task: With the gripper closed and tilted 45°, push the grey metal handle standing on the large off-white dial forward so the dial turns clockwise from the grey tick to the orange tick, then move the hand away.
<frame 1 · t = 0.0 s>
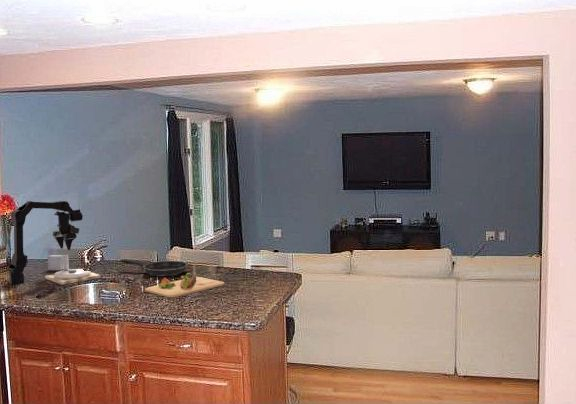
hand: (65, 249, 340), 15 cm above the counter, tool pointing down, fingers open, 9 cm apart
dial: (72, 266, 330), point 7 cm above the counter, hinge at 0.0°
medicine box: (56, 270, 356), on the counter
frying pan: (155, 273, 341), on the counter
dial base: (72, 278, 331), on the counter
cutting board: (185, 289, 303), on the counter
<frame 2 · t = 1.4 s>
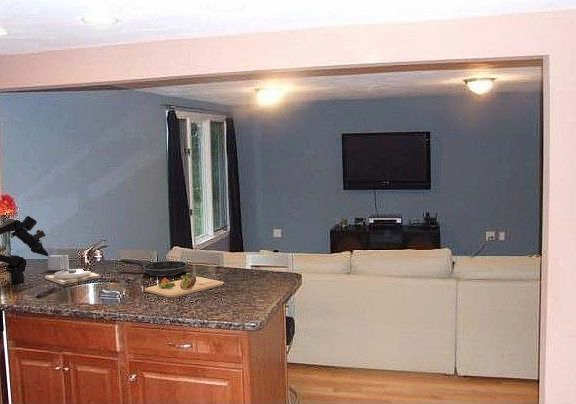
hand: (47, 254, 330), 14 cm above the counter, tool tilted 45°, fingers open, 6 cm apart
nothing on the counter moved.
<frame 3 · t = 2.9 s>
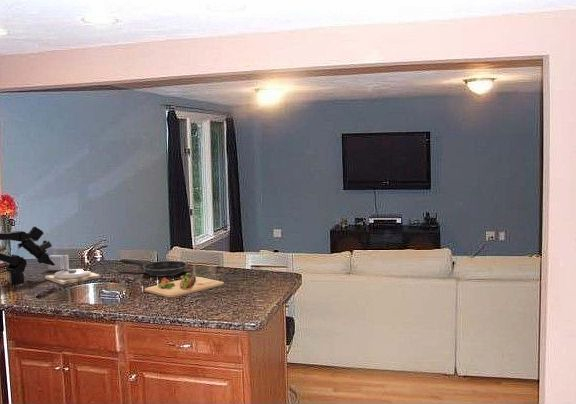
hand: (54, 265, 333), 7 cm above the counter, tool tilted 45°, fingers closed
nothing on the counter moved.
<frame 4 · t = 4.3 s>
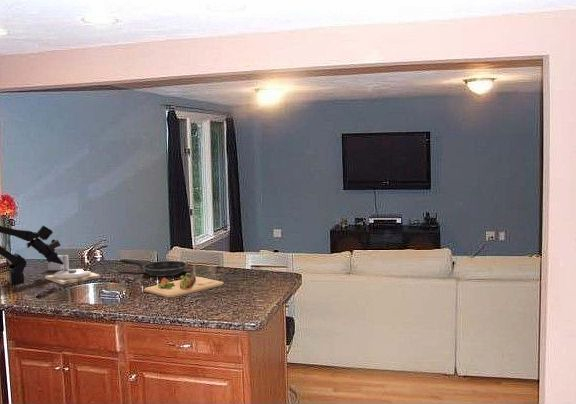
hand: (62, 263, 335), 7 cm above the counter, tool tilted 45°, fingers closed, pressing on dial
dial: (72, 266, 330), point 7 cm above the counter, hinge at -0.1°, touching gripper
everything else where it was.
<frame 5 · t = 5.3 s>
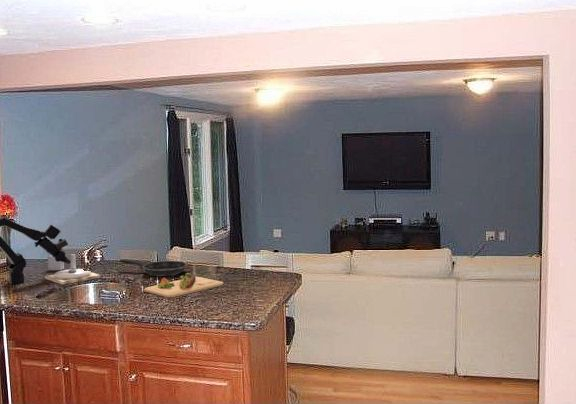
hand: (70, 263, 338), 7 cm above the counter, tool tilted 45°, fingers closed, pressing on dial
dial: (72, 266, 330), point 7 cm above the counter, hinge at -28.1°, touching gripper
everything else where it was.
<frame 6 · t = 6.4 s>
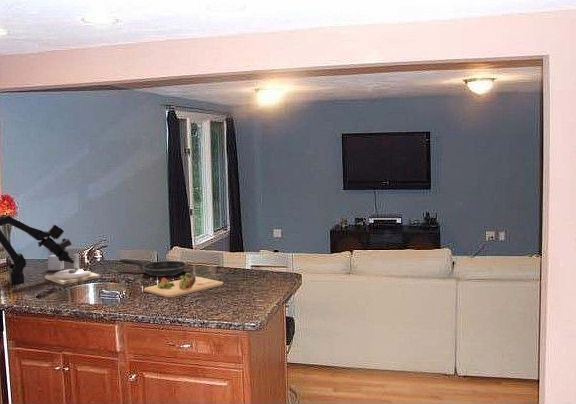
hand: (73, 262, 338), 7 cm above the counter, tool tilted 45°, fingers closed
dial: (72, 266, 330), point 7 cm above the counter, hinge at -41.2°, touching gripper
everything else where it was.
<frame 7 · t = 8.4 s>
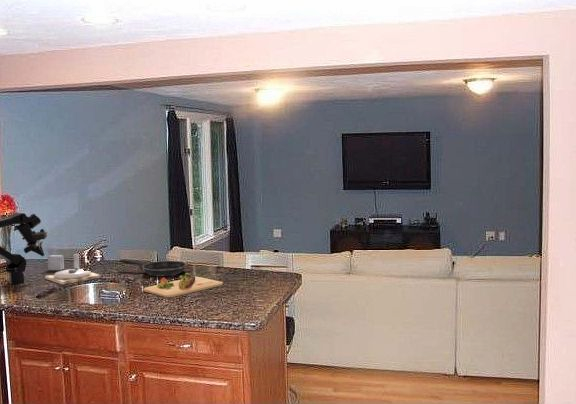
hand: (43, 255, 331), 13 cm above the counter, tool tilted 30°, fingers closed
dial: (72, 266, 330), point 7 cm above the counter, hinge at -41.5°
everything else where it was.
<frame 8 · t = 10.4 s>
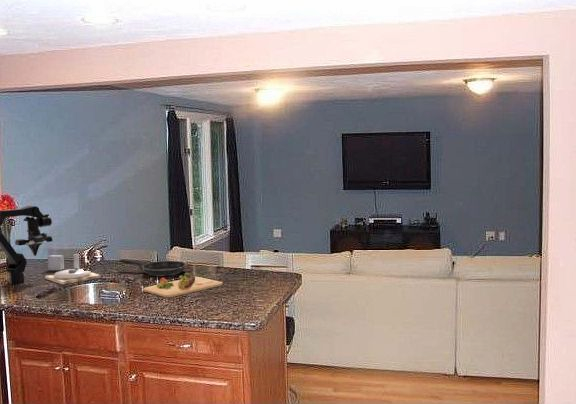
hand: (35, 255, 331), 13 cm above the counter, tool pointing down, fingers closed
nothing on the counter moved.
at the end: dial at -42° (first picture: +0°); medicine box moved 0.3 cm from its start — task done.
